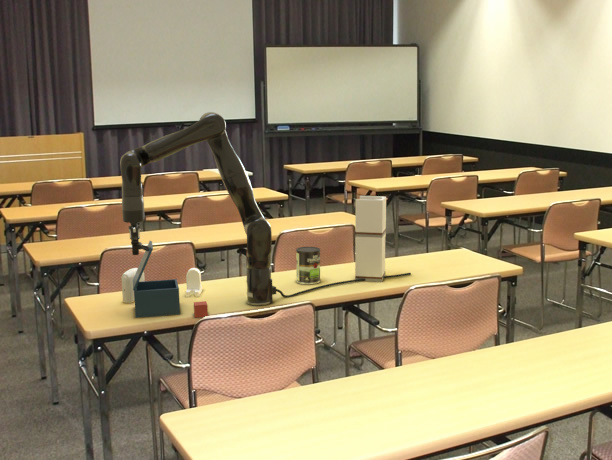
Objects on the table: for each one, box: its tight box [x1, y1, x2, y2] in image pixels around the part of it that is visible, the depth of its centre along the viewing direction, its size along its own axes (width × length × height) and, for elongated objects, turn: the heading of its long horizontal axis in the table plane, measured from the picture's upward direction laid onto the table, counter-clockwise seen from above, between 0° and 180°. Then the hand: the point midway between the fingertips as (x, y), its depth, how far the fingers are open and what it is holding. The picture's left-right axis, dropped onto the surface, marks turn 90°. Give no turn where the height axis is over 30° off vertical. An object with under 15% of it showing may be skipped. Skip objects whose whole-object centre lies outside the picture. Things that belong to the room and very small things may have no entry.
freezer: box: [134, 278, 181, 319], centre depth 278 cm, size 16×14×10 cm
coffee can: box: [295, 246, 321, 285], centre depth 319 cm, size 10×10×14 cm
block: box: [193, 300, 209, 318], centre depth 274 cm, size 4×4×4 cm
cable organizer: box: [185, 267, 203, 298], centre depth 301 cm, size 5×10×10 cm, turn 4°
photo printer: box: [120, 267, 146, 304], centre depth 292 cm, size 10×4×12 cm, turn 158°
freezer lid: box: [133, 240, 154, 291], centre depth 274 cm, size 16×14×5 cm
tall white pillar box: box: [354, 195, 387, 283], centre depth 323 cm, size 11×11×35 cm
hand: (135, 252), depth 273 cm, fingers open, 8 cm apart
